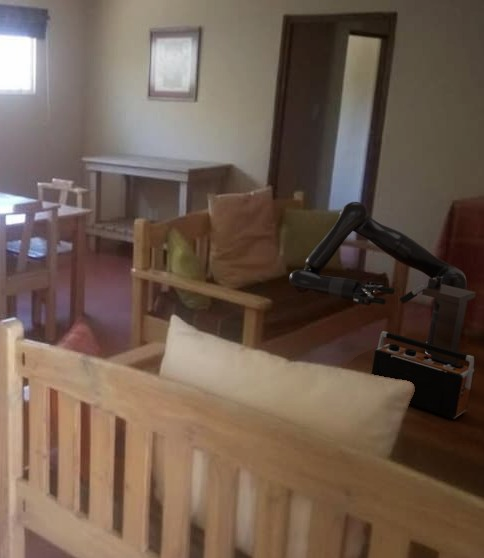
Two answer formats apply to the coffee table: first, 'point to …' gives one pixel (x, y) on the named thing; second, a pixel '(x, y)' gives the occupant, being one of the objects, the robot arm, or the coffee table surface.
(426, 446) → the coffee table surface
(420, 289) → the lever
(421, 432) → the coffee table surface
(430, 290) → the stand
